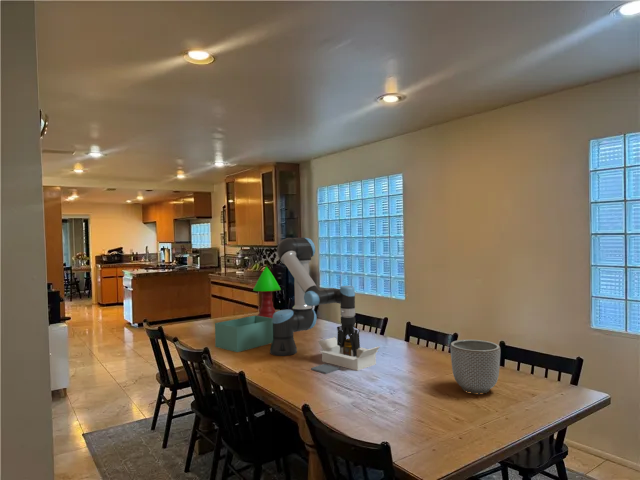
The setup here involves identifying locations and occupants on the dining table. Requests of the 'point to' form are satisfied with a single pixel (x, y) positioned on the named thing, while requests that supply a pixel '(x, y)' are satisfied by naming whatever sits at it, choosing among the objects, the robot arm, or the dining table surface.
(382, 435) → the dining table surface
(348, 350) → the condiment
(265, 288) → the table lamp
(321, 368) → the coaster
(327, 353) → the carton
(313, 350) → the dining table surface
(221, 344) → the box
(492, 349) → the planter
